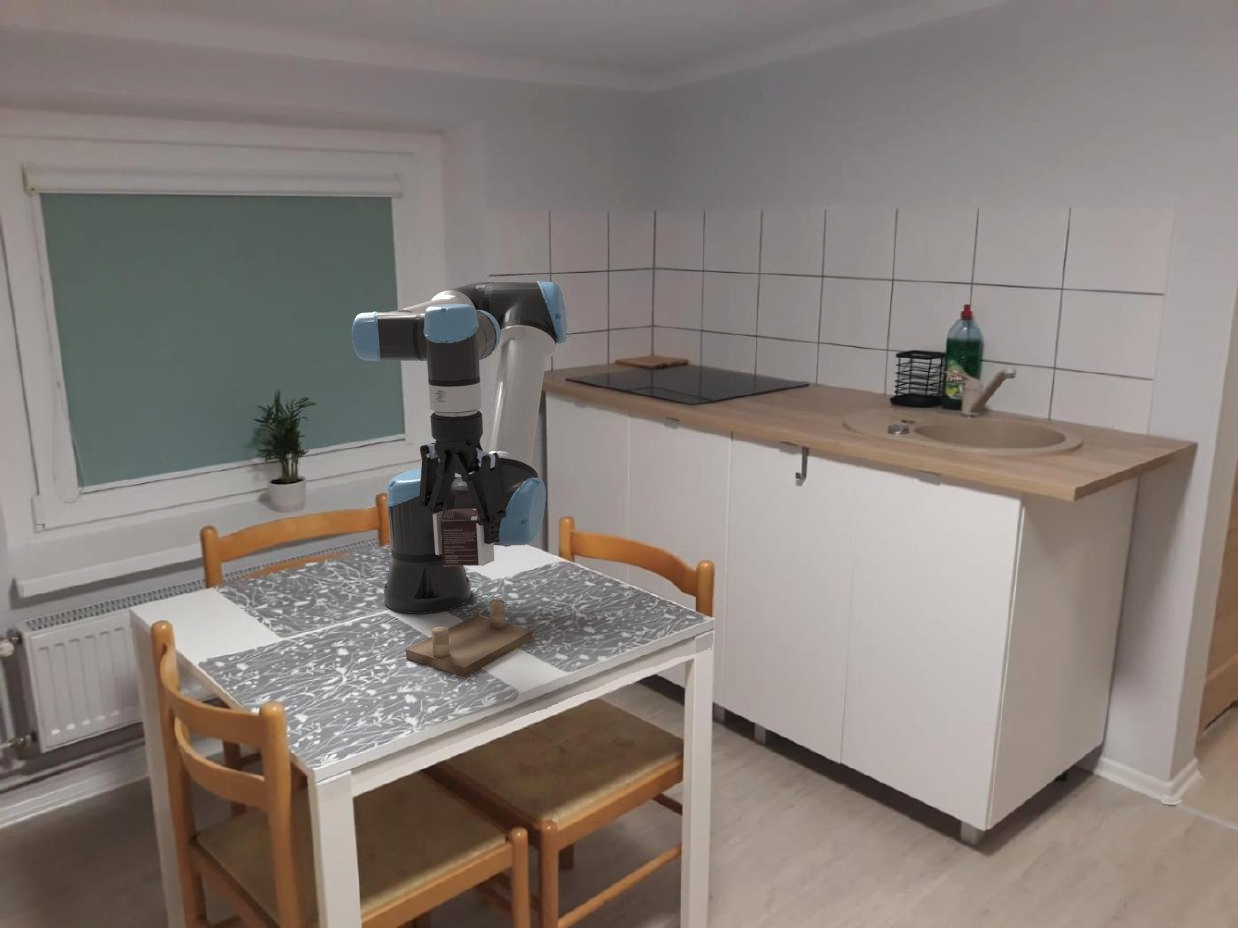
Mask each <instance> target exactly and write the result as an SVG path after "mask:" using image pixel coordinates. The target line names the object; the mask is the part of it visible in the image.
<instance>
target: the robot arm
mask: <svg viewBox="0 0 1238 928" xmlns="http://www.w3.org/2000/svg"><path fill="white" fill-rule="evenodd" d="M564 300H565V299H564V295H563V292H562V289H561V287H560V286H559V284H558V283H556V282H551V281H540V280H536V281H533V282H532V281H526V282H525V281H523V282H522V281H517V282H516V281H480V282H473V283H469V284H465V285H461V286H457V287H455V288H451V289H447V290H444V291H441V292H439V293H438V294H437V293H436V295H435V296H433V298H431V300H429V301H425V302H421V303H417V304H415V305H411V306H407V307H404V308H400V309H395V310H391V311H383V312H380V311H378V312H377V311H375V310H374V311H373V312H361V313H359V314H357V315H356V317H355V318H354V319H353V323H352V327H351V344H352V347H353V351H354V353H355V355H356V356H357V357H358V358H359V359H361V360H362V361H373V362H374V361H375V362H377V363H379V362H392V361H393V362H402V361H403V362H407V361H408V362H410V361H411V362H414V361H415V362H416V361H417V362H418V361H421V362H426V364H427V365H426V366H427V378H428V379H427V381H428V382H427V383H428V394H429V396H428V397H429V409H430V410H431V411H432V413H431V415H430V428H431V437H432V439H434V440H435V442H431V443H426V444H424V445H420V447H419V452H420V457H421V467H420V468H415V469H411V470H407V471H404V472H402V473H399V474H396V476H393V477H392V478H391V479H390V480H389V482H388V484H387V487H386V488H387V489H386V491H387V492H386V494H387V497H386V499H387V502H386V507H387V516H388V518H387V519H388V529H389V530H388V531H389V543H390V554H391V561H390V564H389V569H388V574H387V578H386V579H387V580H386V582H385V585H384V586H383V587H384V588H383V600H384V604H385V605H386V607H387V608H389V609H391V610H392V611H396V612H400V613H406V614H430V613H431V614H432V613H439V612H444V611H448V610H452V609H455V608H457V607H459V606H461V605H463V604H466V603H467V602H468V601H469V600H470V598H471V596H472V588H471V587H472V586H471V582H470V579H469V576H467V573H466V570H465V566H452V567H444V566H443V565H442V564H443V563H442V544H441V523H440V520H441V517H442V514H443V511H444V509H470V508H476V510H477V513H478V515H479V518H480V522H478V523H476V526H477V545H478V563H479V566H480V567H483V566H486V565H488V564H490V563H492V562H495V548H494V547H495V546H502V547H511V546H527V545H529V544H531V543H532V542H533V541H534V540H535V539H536V537H537V536H538V534H539V532H540V530H541V527H542V524H543V522H544V521H543V520H544V516H545V510H546V505H545V504H546V498H547V491H546V485H545V482H544V481H543V480H542V479H540V478H539V472H538V469H536V467H534V466H533V465H532V462H533V455H534V449H535V448H534V447H535V440H536V433H537V427H538V426H537V425H538V419H539V412H540V405H541V398H542V390H543V382H544V377H545V376H544V375H545V368H546V362H547V361H546V360H548V359H550V358H551V357H552V356H553V355H554V354H555V351H556V347H557V344H563V343H565V342H567V339H568V328H567V327H568V326H567V325H568V324H567V313H566V307H565V301H564ZM495 350H497V351H498V352H499V353H500V354H499V359H498V360H499V361H498V367H497V371H496V379H495V384H494V390H493V395H492V396H493V397H492V402H491V403H492V404H491V409H490V413H489V414H490V415H489V421H488V425H487V433H486V438H485V439H486V440H485V445H484V450H483V447H482V445H481V439H482V436H483V435H484V427H483V426H484V424H483V413H482V412H481V411H480V409H482V407H483V406H482V405H483V401H482V389H481V387H482V386H481V369H480V368H481V367H480V361H481V360H484V359H486V358H487V357H490V356H491V355H492V354H493V352H494V351H495ZM456 474H457V475H460V476H456Z"/></svg>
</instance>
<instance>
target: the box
mask: <svg viewBox="0 0 1238 928" xmlns="http://www.w3.org/2000/svg"><path fill="white" fill-rule="evenodd" d="M478 522H480V518H479V515H478V513H477V510H476V508H470V509H444V511H443V514H442V517H441V520H440V523H441V544H442V563H443V564H442V565H443V566H444V567H452V566H464V567H472V566H474V567H479V566H480V565H479V563H478V545H477V526H476V523H478Z"/></svg>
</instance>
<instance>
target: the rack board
mask: <svg viewBox="0 0 1238 928" xmlns="http://www.w3.org/2000/svg"><path fill="white" fill-rule="evenodd" d="M488 606H489V617H486V616H483V615H478V614H475V615H473V616H471V617H469V618H467V619H465V620H463V621H461V622H459V623H456V624H455V625H453V626H451V627H449V628H448V627H446V626H436V627H434V628H432V629H431V636H430V637H428V638H426V639H424V640H422V641H420V642H418V643H416V644H413V645H411V646H410V647H408V648H406V649H405V656H406V657H405V658H406V659H407V660H411V661H414V662H416V663H420V664H423V665H426V666H429V667H432V668H435V669H439V670H442V671H445V672H448V673H452V674H453V675H457V676H461V677H464V678H466V677H467V676H470V675H471V674H474V673H475V672H476V671H479V670H480V669H482V668H484V667H486V666H487V665H489V664H491V663H492V662H495V661H496V660H499V659H500V658H503V656H506V655H507V654H509V653H511V652H512V651H515V650H516V649H518V648H520V647H522V646H524V645H525V644H527V643H529V642H531V641H532V640H534V630H533V629H529V628H525V627H523V626H522V627H521V626H519V625H517V624H511V623H508V622H506V610H505V608H506V605H505V601H504V600H503V599H498V598H497V599H493V600H490V601H489V605H488Z"/></svg>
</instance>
